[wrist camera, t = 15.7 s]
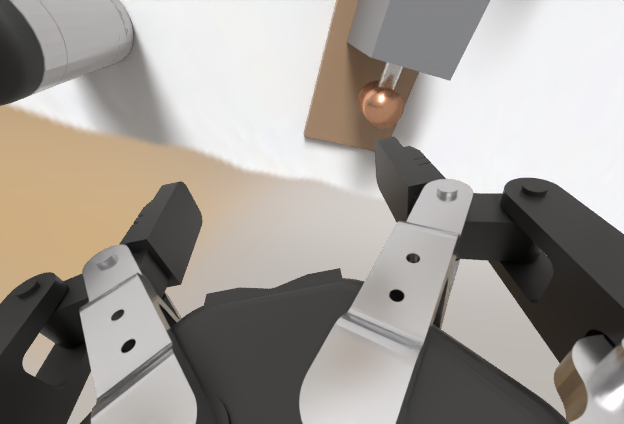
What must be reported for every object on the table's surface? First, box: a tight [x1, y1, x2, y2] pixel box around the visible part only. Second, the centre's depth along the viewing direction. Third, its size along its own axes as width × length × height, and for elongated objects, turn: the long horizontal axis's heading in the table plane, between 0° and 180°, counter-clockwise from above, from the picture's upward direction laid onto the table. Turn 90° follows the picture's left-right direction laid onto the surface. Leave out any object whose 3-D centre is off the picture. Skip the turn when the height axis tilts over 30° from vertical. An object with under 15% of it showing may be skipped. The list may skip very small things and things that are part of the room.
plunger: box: [358, 62, 404, 129], centre depth 33 cm, size 14×4×5 cm, turn 166°
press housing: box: [304, 0, 490, 151], centre depth 35 cm, size 23×14×14 cm, turn 166°
